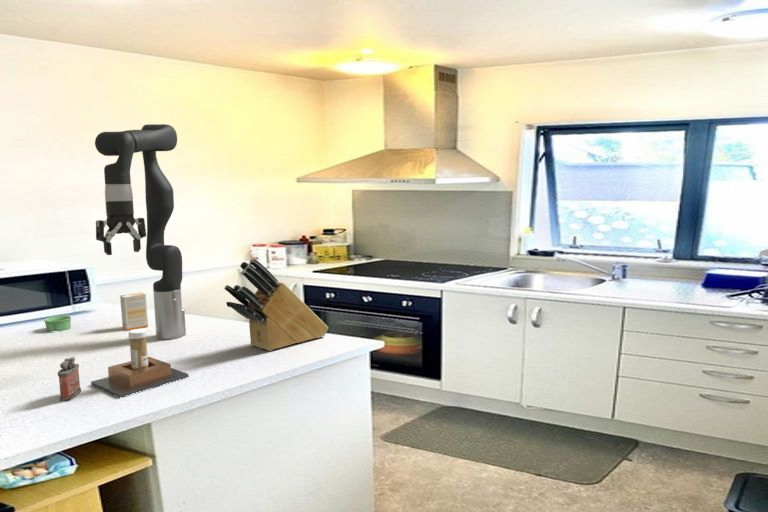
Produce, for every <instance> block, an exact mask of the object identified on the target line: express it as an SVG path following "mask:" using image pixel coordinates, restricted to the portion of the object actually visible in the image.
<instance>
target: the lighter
mask: <svg viewBox="0 0 768 512" xmlns="http://www.w3.org/2000/svg"><path fill="white" fill-rule="evenodd" d="M75 360H76V359H75V357H73V356H72V357H67V358H64V360H63V361H62V362H61V363H60V364H59V366H60V370H58V371H57V376H58V382H59V394H60V396H59V401H60V402H61V401H66V402H70V401H72V400H74V399H75V398H77V397H78V396H80V394H81V393H80V392H82V388H81V383H80V382H81V381H80V371H79V368H80V364H79V363H75V362H76V361H75ZM79 393H80V394H79ZM77 395H78V396H77ZM73 398H74V399H73ZM71 399H72V400H71ZM69 400H70V401H69Z"/></svg>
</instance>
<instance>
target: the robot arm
mask: <svg viewBox="0 0 768 512" xmlns="http://www.w3.org/2000/svg"><path fill="white" fill-rule="evenodd" d="M177 143H178V135H177V131H176V129H175V128H174V126H172V125H170V124H163V123H161V124H158V123H157V124H153V123H152V124H149V123H148V124H144V125H143V126H142V127H141V129H130V130H123V131H102V132H100V133H98V135H97V136H96V137H95V139H94V146H95V148H96V150H97V152H98V153H99V154H101V155H102V156H105V157H117V160H116V162H113V163H109V164H106V165H105V166H104V168H103V171H104V173H103V175H104V198H105V199H104V200H105V201H104V202H105V213H106V220H101V219H99V220H98V219H97V220H95V239H96V241H99V242H102V243H103V252H104V253H105V254H106V256H112V254H113V252H112V251H113V250H112V249H113V247H112V242H111V241H112V239H113V238H114V237H115V236H116V235H118V234H119V235H120V234H129V236H131V237H132V244H133V245H132V246H133V252H134V253H140V250H142V249H141V246H142V245H141V240H142V239H143V238H146V246H145V247H146V248H145V259H146V264H147V266H148V267H149V269H150V270H153V271H158V272H162V274H161V275H162V276H161V278H160V279H158V280H156V281H154V282H153V284H152V290H153V303H154V305H153V306H154V321H155V333H156V336H155V337H156V339H158V340H173V339H178V338H182V337H183V336H186V335H187V331H186V330H187V329H186V316H185V315H186V312H185V309H184V308H183V304H182V303H183V301H182V288H181V287H182V281H183V255H182V252H181V250H180V248H179V247H178V246H177V245H169V244H165V230H166V228H167V227H166V226H167V224H168V222H169V221H170V218H171V216H172V214H173V212H174V209H175V201H174V200H175V199H174V198H175V197H174V189H173V186H172V183H170V181H169V180H168V178H167V177H166V175H165V174H164V173H163V171H162V169H161V167H160V165H159V162H158V158H157V152H170V151H173V150H174V149H175V148H176V147H177ZM141 152H142V159H143V168H144V169H143V170H144V180H145V181H144V182H145V183H144V186H145V207H146V223H145V218H144V217H137V218H135V217H134V214H135V211H134V210H135V209H134V195H133V189H132V181H131V169H132V160H133V157H134V154H135V153H141ZM134 225H136V227H137V230H136V228H135V227H134ZM106 226H107V227H108V229H107V231H105V228H106Z"/></svg>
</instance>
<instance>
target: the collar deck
mask: <svg viewBox="0 0 768 512" xmlns="http://www.w3.org/2000/svg"><path fill="white" fill-rule="evenodd" d="M107 373H108V374H107V375H108V376H106V377H103V378H100V379H96V380H91V381H90V385H91V386H92V387H94V386H95V387H94V388H96V387H97V388H96V389H98V388H99V389H98V390H101V391H103V390H104V391H103V392H105V391H106V392H105V393H107V392H108V393H107V394H109V393H110V395H111V394H112V396H114V395H115V396H114V397H116V396H117V397H116V398H118V397H119V398H118V399H121V398H120V397H122V398H124V397H123V396H125V397H127V396H126V395H129V396H131V395H130V394H132V393H135V394H137V393H136V392H138V393H140V392H139V391H142V392H144V391H143V390H145V391H147V390H146V389H148V390H150V389H149V388H152V389H154V388H153V387H155V388H158V387H161V386H160V385H162V386H164V385H163V384H165V385H167V384H166V383H168V384H170V383H169V382H171V383H174V382H173V381H175V382H177V381H176V380H178V381H180V380H179V379H181V380H184V379H183V378H185V379H187V378H186V377H188V378H189V373H187V372H184V371H181V370H178V369H175V368H173V367H172V364H171V363H168V362H166V361H163V360H160V359H157V358H155V357H154V358H153V357H151V356H148V368H144V369H141V370H137V371H132V366H131V360H129V361H126V362H122V363H117V364H114V365H110V366H107ZM157 386H158V387H157ZM132 395H133V394H132Z"/></svg>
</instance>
